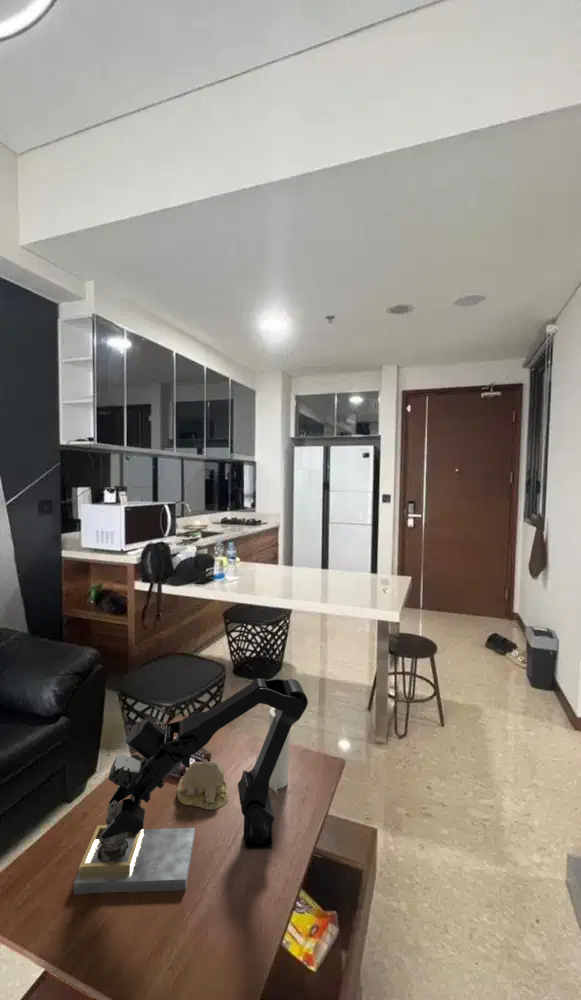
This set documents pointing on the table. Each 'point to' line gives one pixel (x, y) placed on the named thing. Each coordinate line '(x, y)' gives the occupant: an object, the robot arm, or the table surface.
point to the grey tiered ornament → (113, 838)
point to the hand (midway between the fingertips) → (106, 820)
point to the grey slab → (138, 863)
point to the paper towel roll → (280, 762)
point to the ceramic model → (203, 785)
